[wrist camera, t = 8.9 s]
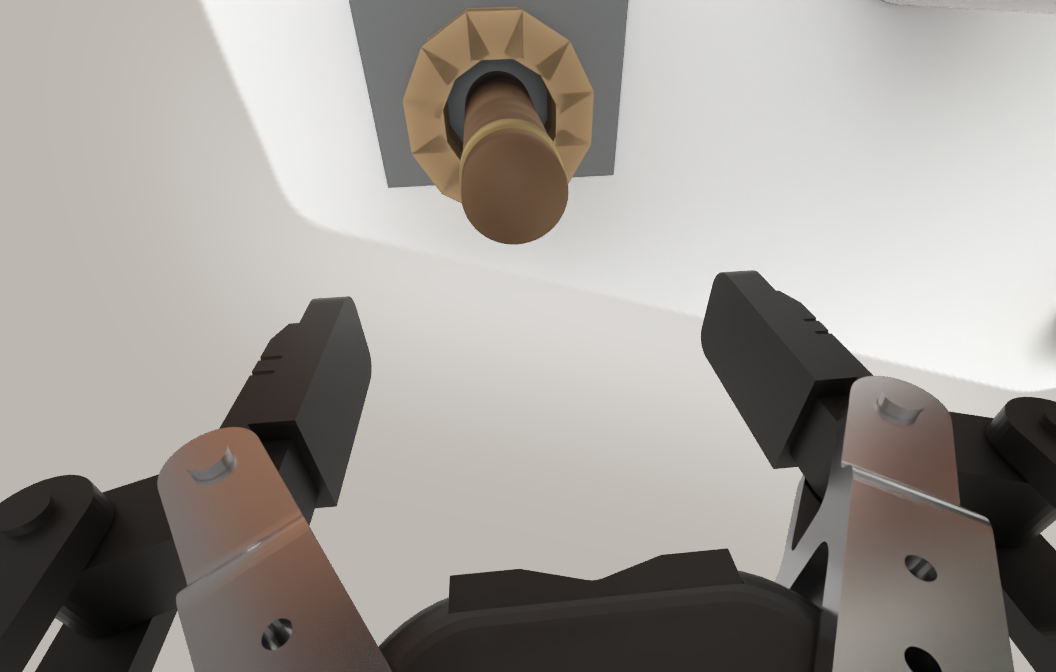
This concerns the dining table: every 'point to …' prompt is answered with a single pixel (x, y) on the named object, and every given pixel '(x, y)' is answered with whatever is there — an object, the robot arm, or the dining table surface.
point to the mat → (485, 69)
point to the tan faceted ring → (492, 39)
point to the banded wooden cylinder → (509, 163)
